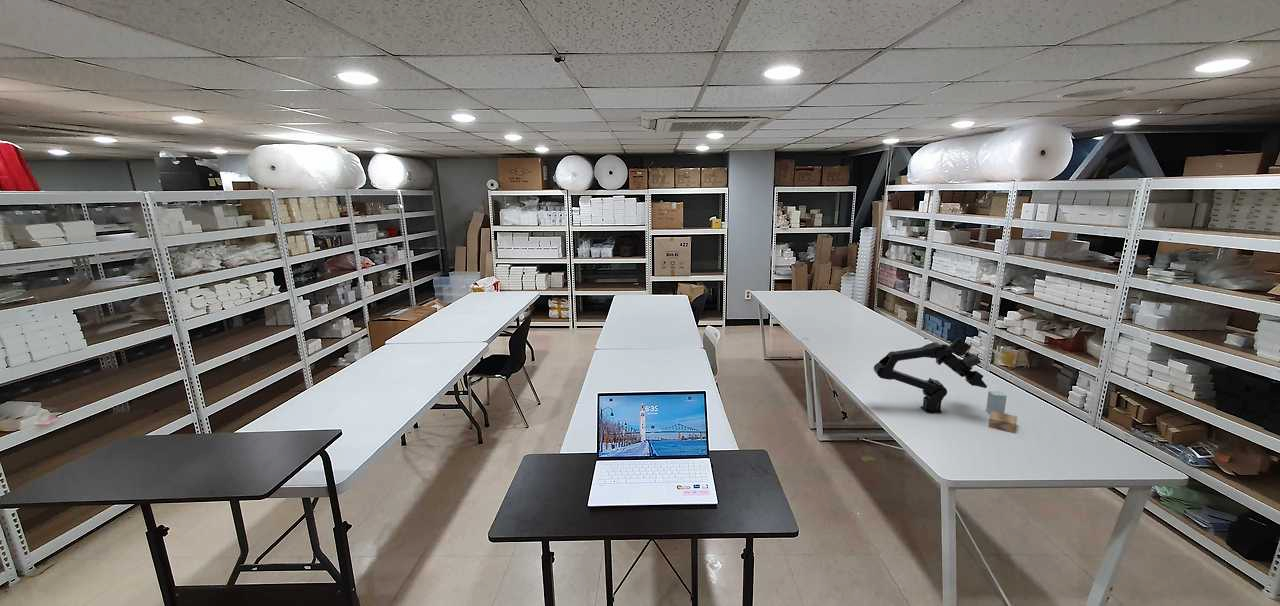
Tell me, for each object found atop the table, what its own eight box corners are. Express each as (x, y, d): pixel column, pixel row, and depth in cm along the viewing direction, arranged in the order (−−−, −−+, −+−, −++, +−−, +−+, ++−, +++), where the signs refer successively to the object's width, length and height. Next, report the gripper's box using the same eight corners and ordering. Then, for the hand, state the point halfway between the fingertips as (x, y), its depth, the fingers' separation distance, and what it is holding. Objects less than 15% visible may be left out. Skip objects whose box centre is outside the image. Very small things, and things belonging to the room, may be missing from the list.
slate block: (991, 415, 215) (993, 395, 212) (986, 410, 219) (988, 390, 217) (1003, 416, 213) (1006, 395, 211) (998, 411, 218) (1000, 391, 216)
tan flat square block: (988, 426, 204) (989, 418, 204) (990, 419, 211) (991, 411, 210) (1014, 432, 199) (1015, 424, 198) (1016, 424, 205) (1017, 416, 204)
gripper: (977, 356, 204) (1006, 378, 204) (958, 343, 222) (984, 363, 222) (957, 375, 208) (986, 396, 207) (940, 360, 226) (966, 380, 225)
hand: (981, 383), depth 215 cm, fingers open, 9 cm apart
